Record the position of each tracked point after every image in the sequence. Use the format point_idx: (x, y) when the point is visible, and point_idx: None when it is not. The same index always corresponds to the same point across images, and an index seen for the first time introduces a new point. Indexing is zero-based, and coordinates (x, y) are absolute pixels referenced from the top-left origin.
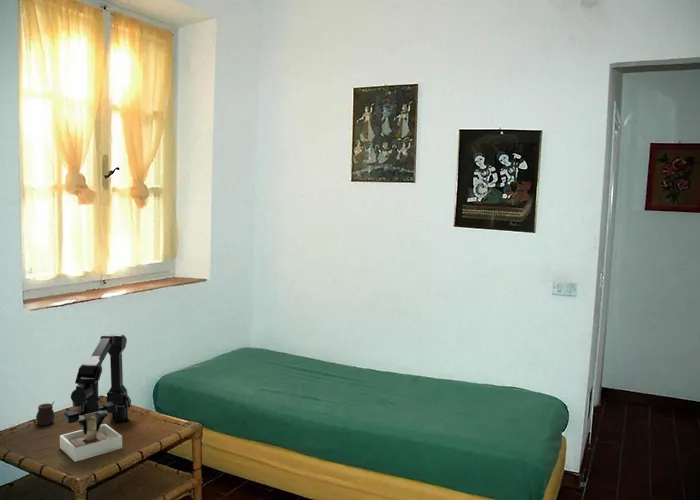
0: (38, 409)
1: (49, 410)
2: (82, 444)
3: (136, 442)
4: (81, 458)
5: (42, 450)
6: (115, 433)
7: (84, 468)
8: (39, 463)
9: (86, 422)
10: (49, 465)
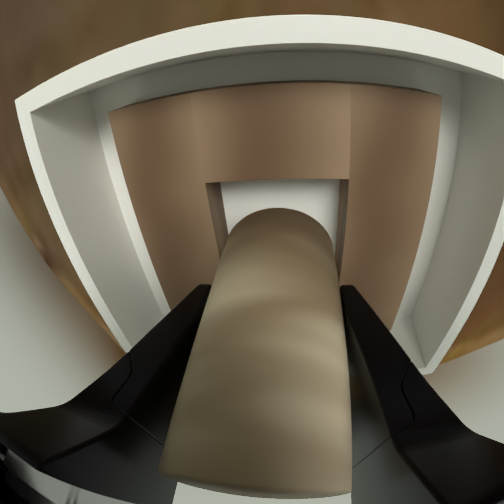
0: None
1: None
2: (196, 267)
3: (490, 291)
4: None
5: (18, 84)
6: (449, 326)
7: None
8: (29, 232)
9: (175, 482)
10: (66, 273)
